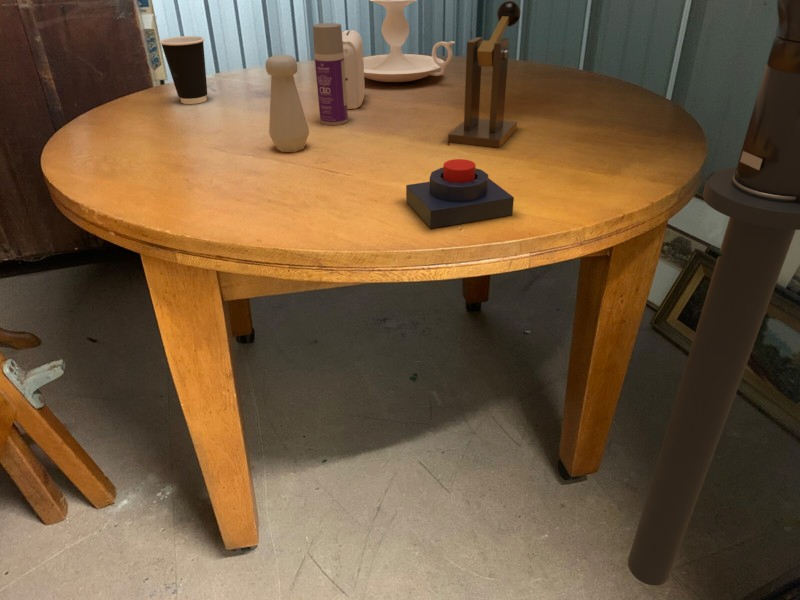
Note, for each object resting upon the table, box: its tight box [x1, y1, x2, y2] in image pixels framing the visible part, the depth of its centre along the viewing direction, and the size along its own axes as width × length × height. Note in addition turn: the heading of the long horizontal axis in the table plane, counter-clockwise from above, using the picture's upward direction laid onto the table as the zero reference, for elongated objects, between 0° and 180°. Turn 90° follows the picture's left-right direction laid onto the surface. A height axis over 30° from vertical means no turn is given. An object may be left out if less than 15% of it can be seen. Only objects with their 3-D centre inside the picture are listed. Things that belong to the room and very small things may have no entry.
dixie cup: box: [158, 35, 208, 105], centre depth 113 cm, size 8×8×11 cm
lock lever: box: [477, 0, 521, 68], centre depth 90 cm, size 14×4×4 cm, turn 156°
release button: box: [442, 158, 477, 183], centre depth 68 cm, size 4×4×2 cm
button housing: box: [405, 167, 515, 230], centre depth 69 cm, size 10×8×4 cm
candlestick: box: [363, 0, 456, 83], centre depth 120 cm, size 21×25×28 cm
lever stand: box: [447, 36, 518, 149], centre depth 90 cm, size 10×8×14 cm
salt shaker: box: [265, 54, 310, 153], centre depth 87 cm, size 6×6×13 cm
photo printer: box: [342, 29, 366, 110], centre depth 109 cm, size 10×4×12 cm, turn 177°
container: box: [312, 22, 349, 126], centre depth 98 cm, size 5×5×15 cm
